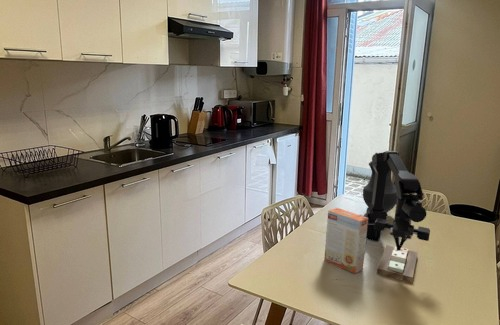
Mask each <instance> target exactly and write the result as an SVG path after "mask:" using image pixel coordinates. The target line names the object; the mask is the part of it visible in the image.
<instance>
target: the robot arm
mask: <svg viewBox="0 0 500 325" xmlns="http://www.w3.org/2000/svg"><path fill="white" fill-rule="evenodd" d="M371 161H372V163H373V164H372V166H373V168H374V170H375V180H374V188H373V196H372V203H371V204H370V206H369V207H368V206H367V208H366V211H365V214H364V215H363V216H364V217H367V218H368V225H367V235H366V240H368V241H369V240H370V241H374V242H379V240H380V239H381V237H382V232H383V231H385V230H386V229H389V230H390V231H389V235H391V236H392V237H393V239H394V242H395V246H396V247H397V250H399V251H400V249H401V247H402V248H403V245H404V243H405V242H406V241H407V240H411V239H412V236H414V235H416V238H417V239H418V240H422V241H426V242H429V240H430V235H431V234H430V233H431V229H430V228H429V227H424V226H419V225H418V227H417V228H415V225H412V222H414V223H421V222H423V220H425V219H426V217H427V210H426V208H425V207H423V203H422V202H421V201H423V200H424V198H423V197H424V192H423V190H422V186H421V185H422V184H421V182H420V181H419V179H418V178H417V177H416V175H415V174H413V173H411V172H409V170H408V169H407V167H406V166H404V165H405V163H404V164H403V162H404V161H403V160H402V159H401V157H400V152H398V151H396V150H386V151H383V152H375V153H374V154H373V155H372V156H371ZM402 161H403V162H402ZM390 171H391V172H392V174H393V176H394V178H395V179H394V182H395V188H396V191H397V193H396V195H397V196H398V197H397V203H396V205H395V210H394V212H395V213H394V219H393V221H392V223H389V222H388V216H387V217H386V214H388V212H387V213H386V211H385V210H384V208H383V202H384V194H385V187H386V179H387V174H388V173H389V172H390ZM395 180H396V181H395ZM400 238H401V239H400Z"/></svg>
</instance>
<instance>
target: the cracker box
mask: <svg viewBox="0 0 500 325" xmlns="http://www.w3.org/2000/svg"><path fill="white" fill-rule="evenodd" d="M367 225H368V218H367V217H364V215H361V214H359V213H355V212H351V211H349V210H345V209H342V208H339V207H334V208H332V209H329V210H328V211H327V224H326V234H325V244H324V247H325V248H324V257H323V258H324V261H327V262H329V263H330V264H333V265H335V266H338V267H340V268H341V269H344V270H346V271H348V272H351V273H352V274H357V273H359V272H361V271H362V270H363V269H364V262H365V252H366V244H367V239H366V235H367Z"/></svg>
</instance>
